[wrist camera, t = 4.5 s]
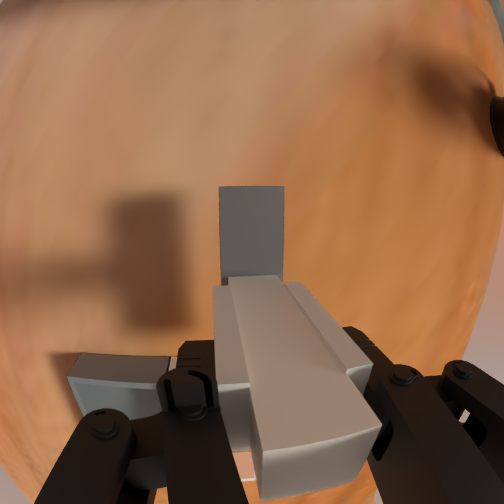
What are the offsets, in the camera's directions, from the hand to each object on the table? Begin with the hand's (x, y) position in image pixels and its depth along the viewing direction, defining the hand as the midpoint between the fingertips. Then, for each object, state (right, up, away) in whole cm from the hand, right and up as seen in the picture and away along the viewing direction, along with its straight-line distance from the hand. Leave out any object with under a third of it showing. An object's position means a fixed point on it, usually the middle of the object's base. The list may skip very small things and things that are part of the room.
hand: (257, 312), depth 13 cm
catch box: (-12, -13, +11) cm, 21 cm away
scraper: (-1, +1, +4) cm, 5 cm away
